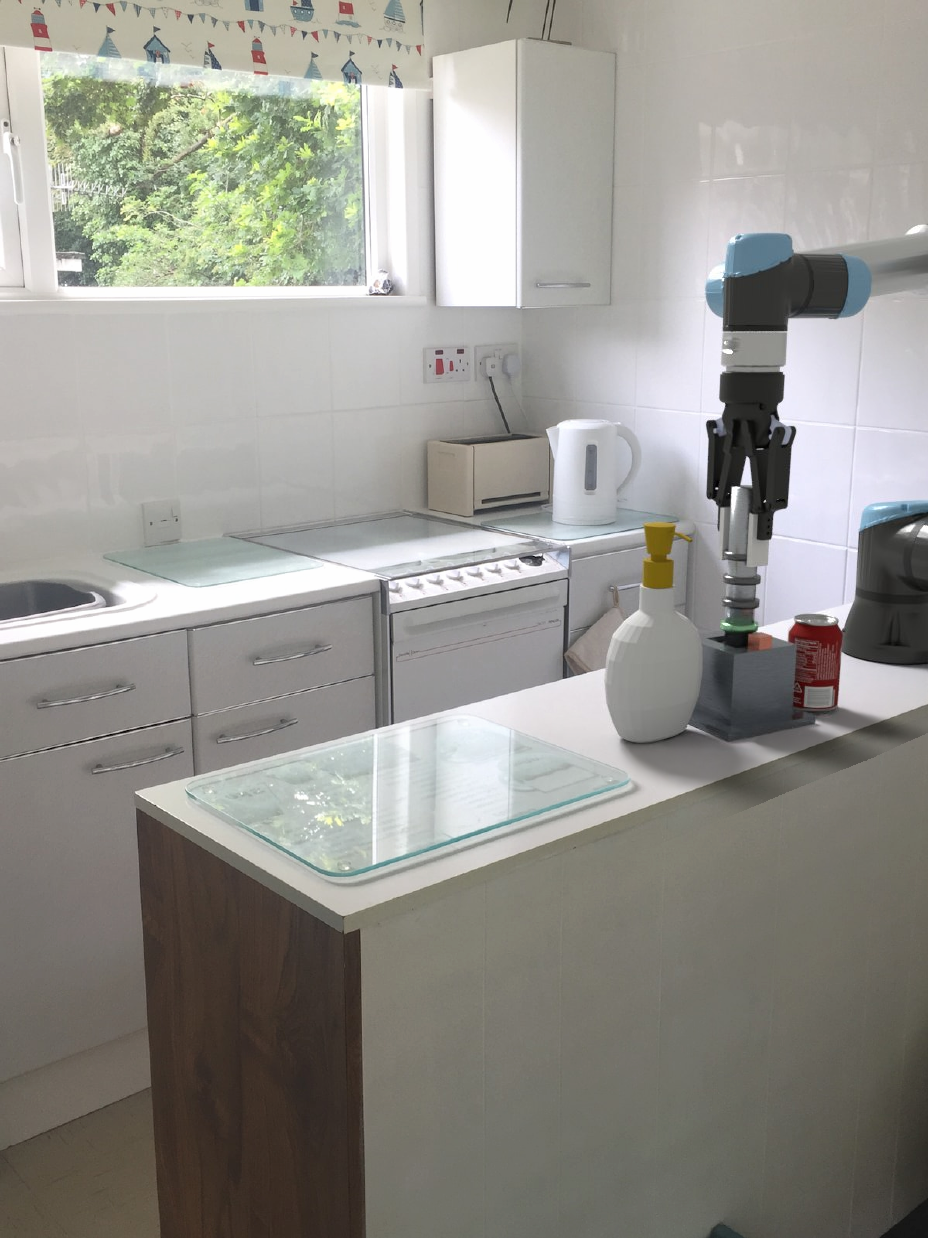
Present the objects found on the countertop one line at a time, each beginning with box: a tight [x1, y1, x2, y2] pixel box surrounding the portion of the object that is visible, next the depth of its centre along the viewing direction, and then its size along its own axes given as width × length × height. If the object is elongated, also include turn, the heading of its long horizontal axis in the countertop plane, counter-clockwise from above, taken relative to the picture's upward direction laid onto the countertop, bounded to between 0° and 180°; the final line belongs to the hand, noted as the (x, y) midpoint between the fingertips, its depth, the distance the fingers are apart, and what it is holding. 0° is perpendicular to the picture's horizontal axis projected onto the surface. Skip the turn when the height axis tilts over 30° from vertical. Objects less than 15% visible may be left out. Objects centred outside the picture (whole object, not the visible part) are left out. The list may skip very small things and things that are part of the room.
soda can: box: [786, 613, 843, 715], centre depth 156 cm, size 7×7×12 cm
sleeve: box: [688, 629, 817, 742], centre depth 152 cm, size 14×14×12 cm
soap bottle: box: [604, 521, 703, 744], centre depth 143 cm, size 14×9×26 cm, turn 127°
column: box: [719, 484, 762, 648], centre depth 149 cm, size 5×5×21 cm
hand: (742, 561), depth 149 cm, fingers closed on column, 5 cm apart
